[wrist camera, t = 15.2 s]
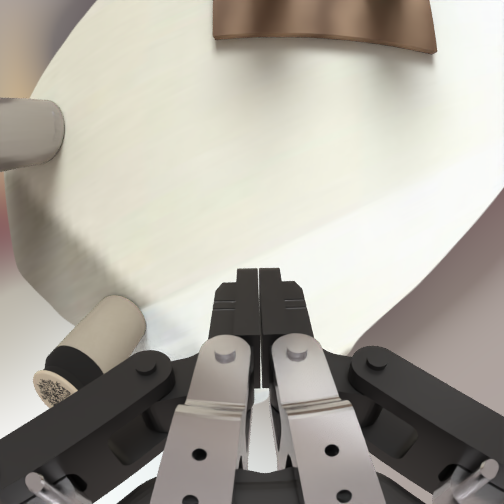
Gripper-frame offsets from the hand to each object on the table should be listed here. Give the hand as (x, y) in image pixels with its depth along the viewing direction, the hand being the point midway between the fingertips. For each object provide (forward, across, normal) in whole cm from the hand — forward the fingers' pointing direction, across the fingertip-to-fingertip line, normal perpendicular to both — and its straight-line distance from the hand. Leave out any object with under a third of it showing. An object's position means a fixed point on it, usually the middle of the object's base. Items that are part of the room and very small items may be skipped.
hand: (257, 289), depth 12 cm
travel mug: (+25, +19, +22) cm, 38 cm away
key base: (+28, -9, -23) cm, 38 cm away
